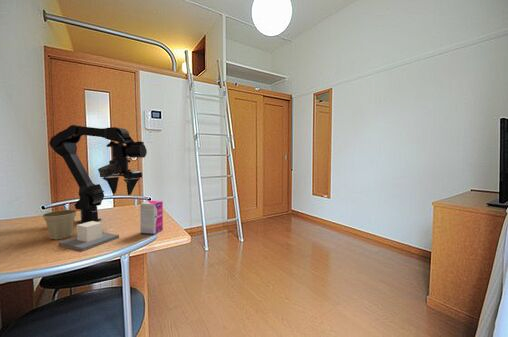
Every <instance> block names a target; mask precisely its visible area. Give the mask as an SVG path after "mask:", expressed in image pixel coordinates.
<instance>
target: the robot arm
mask: <svg viewBox="0 0 508 337" xmlns="http://www.w3.org/2000/svg"><path fill="white" fill-rule="evenodd" d="M83 136H87V137H88V136H89V137H97V138H98V137H99V138H103V139H106V140H109V143H108V144H106V147H107V148H111V154H112V155H111V156H112V158H111V159H110V160H109V161H108V162H109V164H107V165H106V164H105V165H104V166H103V165H102V166H101V167H99V168H98V169H97V170H98V173H99V177H100V178H101V179H103V180H104V181H105V182H107V184H108V186H109V188H110V191H111V193H112V194H114V195H115V194H116V193H117V189H118V185H119V178H120V177H123V178H124V179H123V181H124V182H125V183H126V184H125V185H126V192H127V196H130V195H132V193H133V191H134V188H135V187H136V185H137V183H138V181H139V180H141V178H143V172H141V170H131V169H129V163H131V159H133V158H137V159H139V158H141V159H143V158H146V156H147V153H148V152H147V148H146V145H145V142H144V141H142V140H141V141H140V140H139V141H134V139H133V138H132V137H131V136H130V132H129V130H128V129H127V128H121V127H115V126H112V127H105V128H104V127H103V128H101V127H99V128H98V127H90V126H82V125H76V124H71V125H70V126H68V127H67V128H65V129H63V130H61V131H59V132H57V133H56V134H55V135H53V136H52V137H51V138H50V139H49V146H50V148H51V149H52V150H53V151H54V152H55V153H56V154H57V155H58V156H60V157H61V158H62V159H63V160H64V162H65V164H66V166H67V168H68V170H69V171H70V173H71V175H72V176H73V179H74V180H75V182H76V184H77V186H78V197H79V199H78V200H77V202H75V204H73V205H74V208H75V210H80V219H79V220H77V223H79V224H83V223H87V222H90V221H95V222H100V221H101V220H102V218H99V212H98V206H101V205H102V201H103V200H104V197H105V191H104V190H103V188H102V187H101V184H100V183H99V184H97V183H96V184H95V183H94V182H92V180H91V178H90V176H89V174H88V172H87V171H86V168H85V166H84V165H83V162H81V161H82V160H80V158H79V156H78V153H77V150H78V147H77V144H78V143H79V142H80V140H81V137H83ZM129 158H130V159H129Z"/></svg>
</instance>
